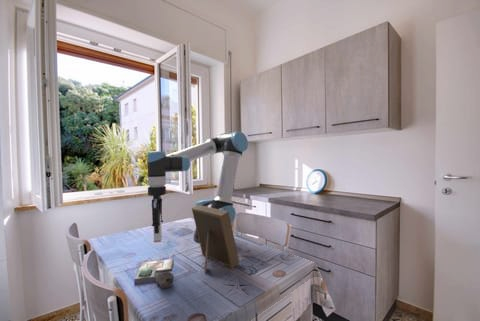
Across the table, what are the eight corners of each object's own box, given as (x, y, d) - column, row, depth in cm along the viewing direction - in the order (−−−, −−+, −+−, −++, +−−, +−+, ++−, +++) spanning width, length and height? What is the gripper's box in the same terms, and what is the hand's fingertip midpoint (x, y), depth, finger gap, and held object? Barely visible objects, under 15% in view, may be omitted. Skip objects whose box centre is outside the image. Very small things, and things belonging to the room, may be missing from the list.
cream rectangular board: (173, 260, 106) (173, 258, 106) (171, 270, 96) (171, 268, 96) (141, 263, 103) (141, 262, 103) (136, 274, 93) (136, 272, 93)
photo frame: (209, 251, 115) (208, 203, 115) (239, 265, 99) (238, 209, 99) (183, 261, 104) (182, 208, 104) (212, 278, 89) (211, 215, 89)
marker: (161, 239, 101) (160, 213, 101) (160, 241, 98) (160, 214, 98) (154, 240, 100) (154, 213, 100) (153, 242, 98) (153, 215, 98)
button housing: (156, 272, 94) (156, 268, 94) (153, 281, 87) (153, 276, 87) (138, 275, 93) (138, 270, 93) (134, 284, 86) (134, 279, 86)
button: (152, 272, 92) (151, 266, 92) (150, 277, 88) (150, 271, 88) (141, 273, 92) (141, 267, 92) (139, 279, 88) (139, 272, 88)
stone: (152, 282, 89) (144, 277, 83) (161, 268, 92) (153, 262, 86) (172, 293, 85) (165, 289, 79) (180, 279, 88) (174, 274, 82)
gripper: (151, 184, 106) (152, 233, 106) (144, 188, 91) (145, 246, 91) (167, 183, 108) (168, 232, 108) (163, 187, 92) (164, 244, 92)
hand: (157, 238), depth 99 cm, fingers closed on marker, 3 cm apart
